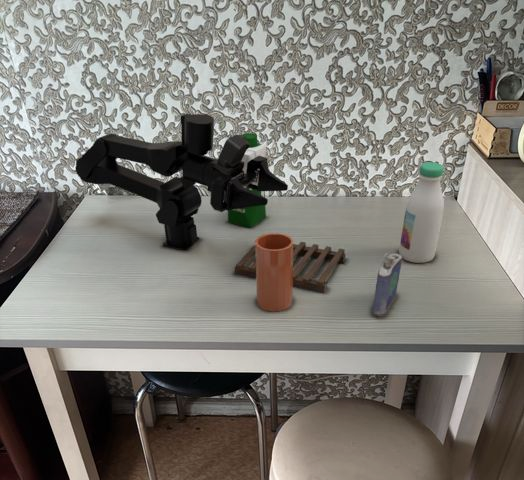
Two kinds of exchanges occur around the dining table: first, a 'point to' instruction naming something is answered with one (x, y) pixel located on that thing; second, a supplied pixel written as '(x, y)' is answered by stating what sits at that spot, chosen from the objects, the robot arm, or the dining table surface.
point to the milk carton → (255, 213)
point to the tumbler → (274, 271)
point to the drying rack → (301, 265)
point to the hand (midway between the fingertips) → (277, 194)
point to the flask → (387, 283)
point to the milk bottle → (423, 216)
